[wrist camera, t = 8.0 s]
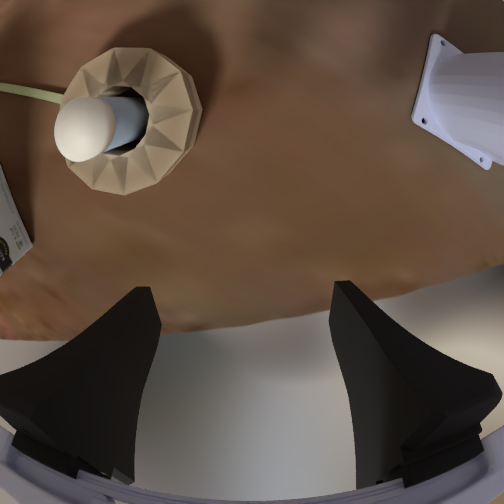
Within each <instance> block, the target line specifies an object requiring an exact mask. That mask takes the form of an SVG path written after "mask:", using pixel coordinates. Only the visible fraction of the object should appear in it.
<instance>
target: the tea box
mask: <svg viewBox="0 0 504 504" xmlns="http://www.w3.org/2000/svg"><path fill="white" fill-rule="evenodd" d="M32 247H33V245H32V243H31V241H30V238H29V236H28V234H27V232H26V229H25V227H24V225H23V222H22V220H21V218H20V215H19V213H18V211H17V208H16V206H15V203H14V201H13V198H12V196H11V193H10V190H9V188H8V185H7V182H6V179H5V176H4V173H3V171H2V168H1V165H0V276H1V275H2V274H3V273H4V272H5V271H6V270H7V269H8V268H9V267H10V266H11V265H12V264H14V263H15V262H16V261H17V260H18V259H19V258H21V257H22V256H23V255H24V254H25V253H26V252H27V251H29V250H30V249H31V248H32Z"/></svg>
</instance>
